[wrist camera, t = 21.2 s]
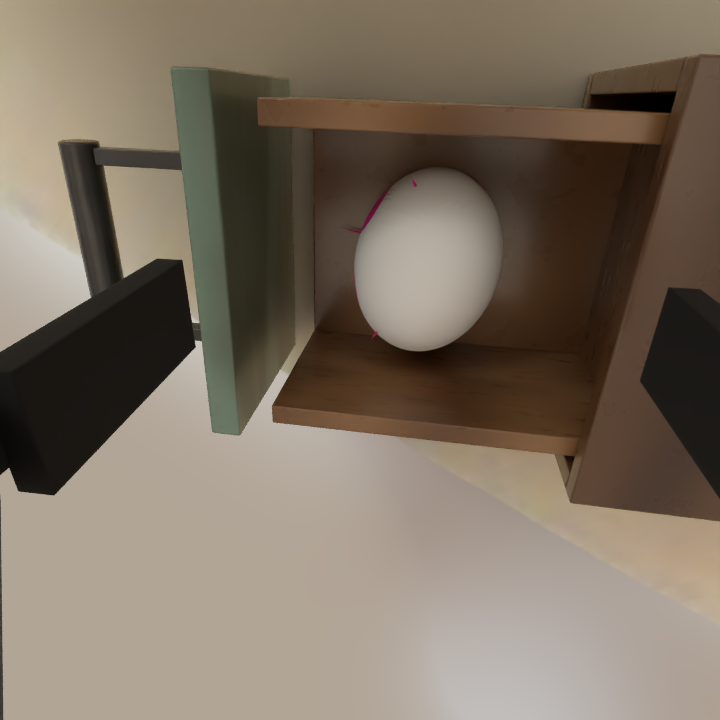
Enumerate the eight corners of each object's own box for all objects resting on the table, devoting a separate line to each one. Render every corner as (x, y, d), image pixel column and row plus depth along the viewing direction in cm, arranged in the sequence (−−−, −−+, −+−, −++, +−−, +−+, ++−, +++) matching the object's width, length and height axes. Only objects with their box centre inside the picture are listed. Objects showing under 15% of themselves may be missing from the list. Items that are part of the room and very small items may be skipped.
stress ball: (412, 150, 25) (313, 132, 20) (565, 195, 21) (485, 186, 16) (375, 294, 28) (282, 308, 24) (501, 359, 24) (419, 392, 19)
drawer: (168, 332, 29) (69, 416, 22) (130, 72, 23) (-25, 59, 16) (583, 371, 27) (640, 483, 19) (657, 91, 21) (783, 87, 13)
